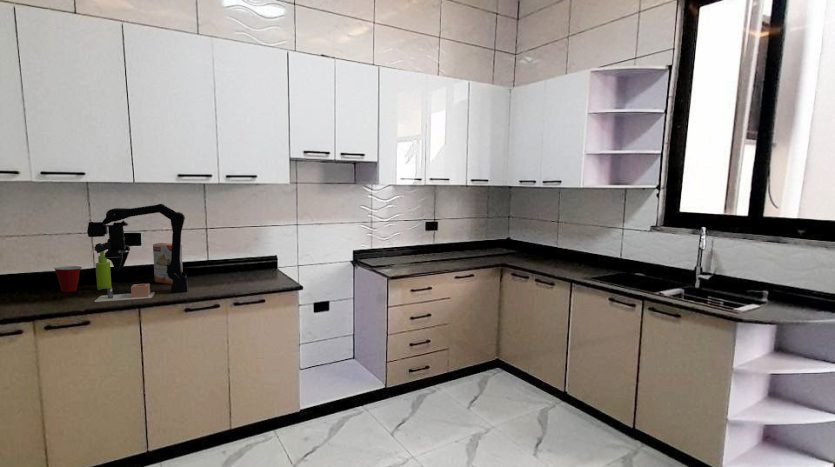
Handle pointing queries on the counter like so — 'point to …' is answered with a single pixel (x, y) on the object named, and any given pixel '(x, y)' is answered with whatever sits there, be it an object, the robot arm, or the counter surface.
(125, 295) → the base plate
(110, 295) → the steel pin
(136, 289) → the pink hollow square block
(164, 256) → the cracker box
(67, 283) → the plastic cup
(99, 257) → the soap dispenser
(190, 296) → the counter surface
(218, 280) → the counter surface
